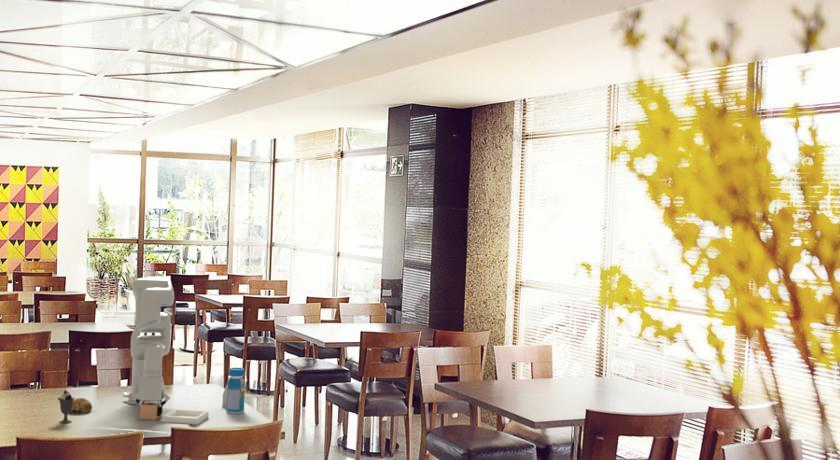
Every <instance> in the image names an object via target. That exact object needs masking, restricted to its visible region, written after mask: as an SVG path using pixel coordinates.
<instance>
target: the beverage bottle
mask: <svg viewBox="0 0 840 460" xmlns="http://www.w3.org/2000/svg"><path fill="white" fill-rule="evenodd" d="M228 375H229V378H228V380H227V382H226V384H227V386H228V387H227V402H226V408H225V412H226V413H227V414H232V415H233V414H237V415H238V414H242V413H244V412H245V400H246V397H245V396H246V381H245V378H244V376H245V368H244V367H243V368H242V367H231V368H229V373H228Z"/></svg>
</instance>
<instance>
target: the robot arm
mask: <svg viewBox="0 0 840 460" xmlns="http://www.w3.org/2000/svg"><path fill="white" fill-rule="evenodd" d="M172 283H173V282H172V281H171V279H169V278H160V277H159V278H157V277H155V278H154V277H139V278H135V279H134V280H133V281H132V286H131V288H132V293H133V296H134V299H135V302H136V303H135V304H136V313H135V328H134V329H133V330H132V333H131V337H130V355H131V358H132V369H131V370H132V371H131V391H130V392H123V396H122V397H123V398H128V399H127V403H128V404H130V405H138V407H139V409H138V410H139V411H138V412H139V414H140V405H141V404H143V403H145V402H157V403H158V408H157V416H160V415H161V414H162V415H163V407H164V406H165V405H166V404H167V402H169V400H170V399H171V397H170V396H169V395H168V394H167V393H166V392H165V383H164V378H163V376H162V372H163V357H164V356H166V355H168V354H169V353H170V349H171V339H172V338H171V333H172V320H171V316H170V314H168V313H166V312H161V307H172V306H173V305H174V301H175V291H174V287H173V284H172ZM141 333H143V335H140V334H141ZM144 333H145V335H144ZM157 333H158V334H160V335H152V334H157ZM146 334H151V335H146ZM163 399H164V400H163Z"/></svg>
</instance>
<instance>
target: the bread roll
mask: <svg viewBox="0 0 840 460" xmlns="http://www.w3.org/2000/svg"><path fill="white" fill-rule="evenodd" d="M92 410H93V405H92V403H91V401H89V399H87V398H85V397H79V398H75V399H74V400H73V404H72V409H71V411H70V412H69V413H68V414H70V415H71V414H72V415H82V414H84V415H85V414H88V413H90V412H92Z"/></svg>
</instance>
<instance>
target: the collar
mask: <svg viewBox="0 0 840 460" xmlns="http://www.w3.org/2000/svg"><path fill="white" fill-rule="evenodd" d="M148 403H149V402H145V403H143V404H141V405H140V413H139V416H138V417H139V419H148V420H156V419H158V418H160V417H161V416H163V413H162V414H161V415H160V416H157V408H158V403H157V401H155V402H154V405H148ZM148 420H147V421H148Z"/></svg>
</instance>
